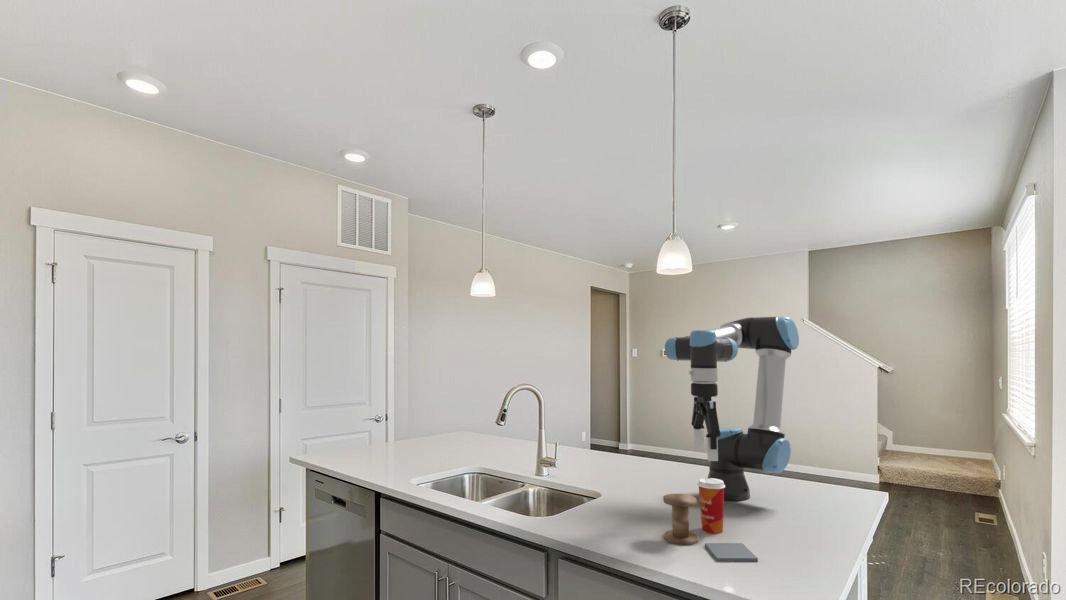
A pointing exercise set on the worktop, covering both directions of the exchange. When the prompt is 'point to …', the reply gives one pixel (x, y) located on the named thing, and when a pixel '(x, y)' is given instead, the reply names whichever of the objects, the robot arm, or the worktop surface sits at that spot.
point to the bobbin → (680, 519)
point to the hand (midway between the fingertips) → (705, 455)
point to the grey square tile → (731, 552)
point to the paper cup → (711, 504)
